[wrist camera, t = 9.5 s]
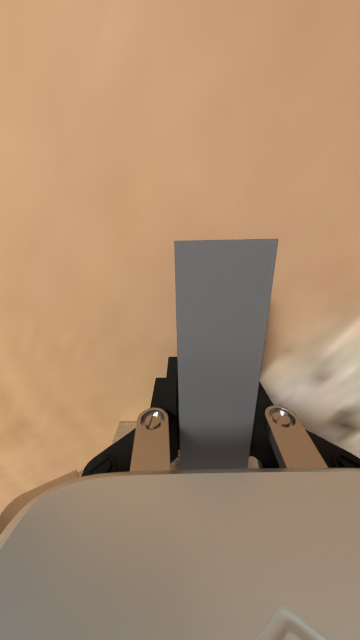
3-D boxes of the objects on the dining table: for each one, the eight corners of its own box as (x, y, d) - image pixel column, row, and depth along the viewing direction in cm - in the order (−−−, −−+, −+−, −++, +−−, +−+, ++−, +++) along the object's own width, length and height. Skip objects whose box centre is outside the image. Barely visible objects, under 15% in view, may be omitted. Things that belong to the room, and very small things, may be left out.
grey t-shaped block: (318, 243, 10) (435, 235, 6) (281, 429, 15) (330, 514, 10) (92, 248, 10) (18, 244, 6) (121, 432, 15) (93, 518, 10)
